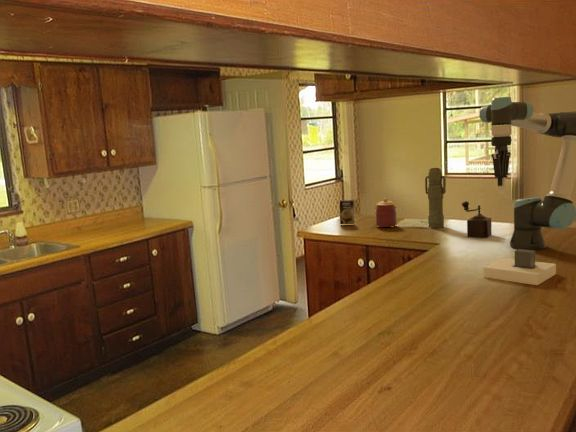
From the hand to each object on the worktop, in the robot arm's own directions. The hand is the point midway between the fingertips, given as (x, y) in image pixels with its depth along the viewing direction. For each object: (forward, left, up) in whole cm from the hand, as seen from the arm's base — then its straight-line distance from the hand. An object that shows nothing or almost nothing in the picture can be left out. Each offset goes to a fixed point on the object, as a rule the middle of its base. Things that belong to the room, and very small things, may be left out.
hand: (501, 193), depth 219 cm
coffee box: (-45, -120, -30) cm, 132 cm away
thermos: (-63, -67, -30) cm, 97 cm away
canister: (-52, -95, -30) cm, 112 cm away
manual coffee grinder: (-49, -36, -30) cm, 68 cm away
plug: (+16, +16, -29) cm, 37 cm away
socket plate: (+16, +14, -29) cm, 36 cm away
